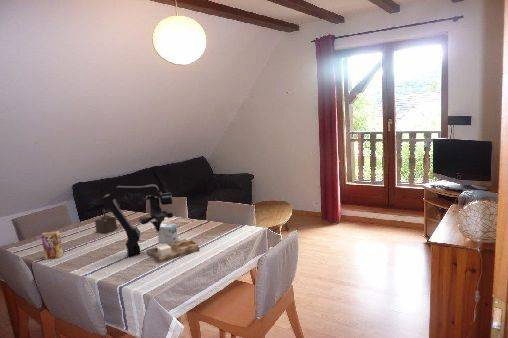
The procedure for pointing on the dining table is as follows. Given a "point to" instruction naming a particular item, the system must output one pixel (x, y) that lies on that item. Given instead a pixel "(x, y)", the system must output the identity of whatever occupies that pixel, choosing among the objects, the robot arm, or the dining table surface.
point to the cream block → (164, 250)
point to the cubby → (186, 244)
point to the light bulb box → (167, 233)
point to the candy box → (52, 245)
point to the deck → (175, 252)
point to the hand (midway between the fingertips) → (157, 231)
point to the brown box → (106, 223)
